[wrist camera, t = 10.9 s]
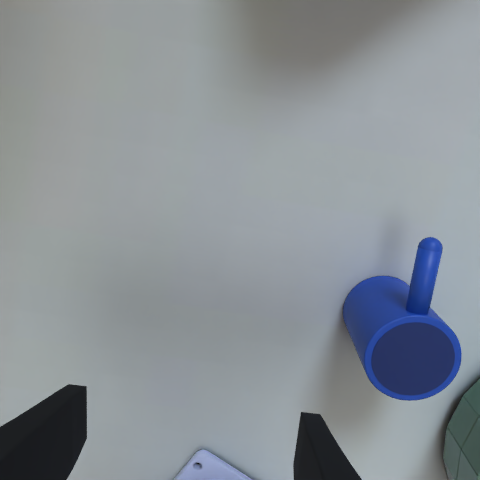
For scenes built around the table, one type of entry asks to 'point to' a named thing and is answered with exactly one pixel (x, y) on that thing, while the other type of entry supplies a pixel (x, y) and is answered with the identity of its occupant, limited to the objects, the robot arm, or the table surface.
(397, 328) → the scoop
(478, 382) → the green plant saucer
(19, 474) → the robot arm
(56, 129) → the table surface
